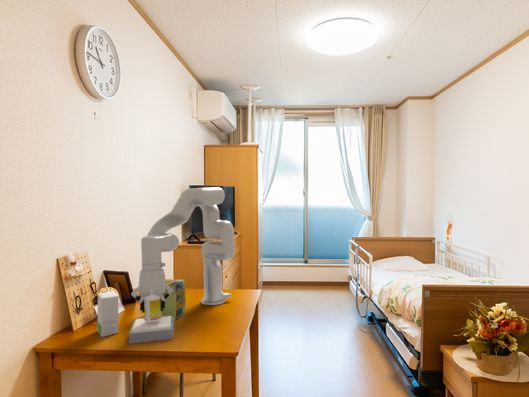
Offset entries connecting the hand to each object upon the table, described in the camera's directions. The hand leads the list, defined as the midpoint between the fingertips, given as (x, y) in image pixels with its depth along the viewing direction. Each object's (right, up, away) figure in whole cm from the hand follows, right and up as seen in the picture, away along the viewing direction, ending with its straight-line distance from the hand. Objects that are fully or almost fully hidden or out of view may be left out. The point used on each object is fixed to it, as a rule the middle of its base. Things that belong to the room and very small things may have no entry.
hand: (152, 310), depth 133 cm
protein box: (-1, -9, +21) cm, 23 cm away
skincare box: (-19, -10, +2) cm, 22 cm away
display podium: (0, -9, 0) cm, 9 cm away
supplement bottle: (0, -4, 0) cm, 4 cm away
